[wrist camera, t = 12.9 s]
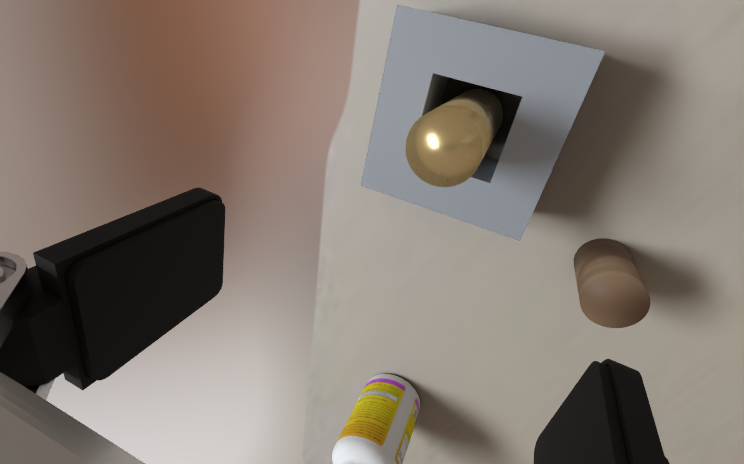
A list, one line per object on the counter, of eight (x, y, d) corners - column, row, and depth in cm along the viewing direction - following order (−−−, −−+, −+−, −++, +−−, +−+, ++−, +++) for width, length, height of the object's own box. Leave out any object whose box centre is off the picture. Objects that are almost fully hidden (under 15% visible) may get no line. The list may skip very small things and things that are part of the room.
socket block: (422, 12, 29) (397, 4, 24) (592, 50, 26) (605, 51, 21) (387, 165, 35) (360, 185, 30) (523, 210, 32) (520, 240, 27)
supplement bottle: (356, 380, 47) (301, 480, 36) (397, 363, 43) (350, 468, 33) (390, 421, 48) (346, 532, 37) (433, 408, 44) (398, 525, 33)
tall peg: (458, 83, 30) (416, 100, 20) (510, 96, 29) (494, 121, 19) (443, 134, 32) (397, 173, 22) (492, 148, 31) (468, 197, 21)
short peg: (587, 231, 31) (596, 267, 26) (642, 249, 30) (663, 290, 25) (565, 272, 33) (569, 313, 28) (616, 290, 32) (630, 336, 27)
